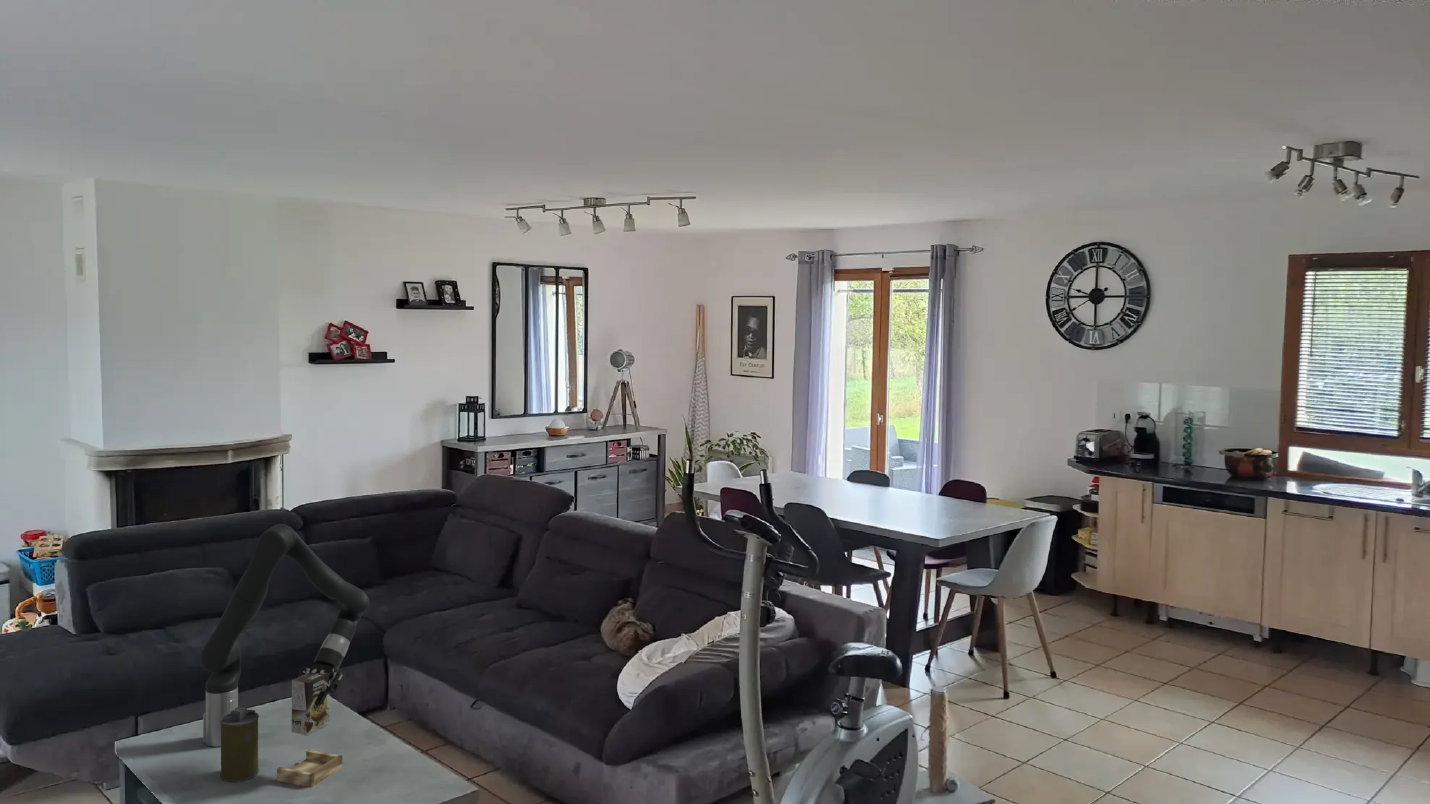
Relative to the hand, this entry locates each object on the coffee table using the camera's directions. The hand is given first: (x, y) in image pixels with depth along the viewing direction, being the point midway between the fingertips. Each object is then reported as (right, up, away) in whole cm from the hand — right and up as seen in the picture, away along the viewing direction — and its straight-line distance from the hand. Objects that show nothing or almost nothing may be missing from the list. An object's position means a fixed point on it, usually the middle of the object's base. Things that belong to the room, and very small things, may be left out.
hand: (307, 703), depth 295 cm
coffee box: (0, -9, +2) cm, 9 cm away
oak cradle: (0, -22, +3) cm, 22 cm away
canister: (-21, -22, +2) cm, 30 cm away
